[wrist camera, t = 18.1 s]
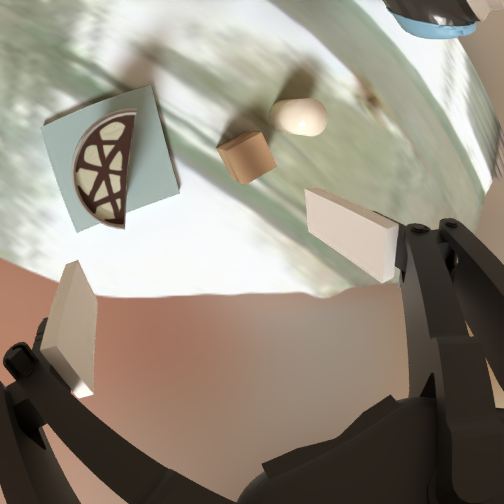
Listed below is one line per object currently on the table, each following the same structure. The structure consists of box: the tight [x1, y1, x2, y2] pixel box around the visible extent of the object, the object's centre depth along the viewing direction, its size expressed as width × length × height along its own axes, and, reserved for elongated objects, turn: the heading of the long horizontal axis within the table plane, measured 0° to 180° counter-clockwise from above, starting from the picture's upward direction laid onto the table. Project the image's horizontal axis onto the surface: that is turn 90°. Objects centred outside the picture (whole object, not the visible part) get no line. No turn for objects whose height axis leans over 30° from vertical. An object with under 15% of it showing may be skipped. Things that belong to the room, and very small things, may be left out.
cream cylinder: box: [269, 98, 327, 136], centre depth 37 cm, size 5×5×7 cm
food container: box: [71, 108, 137, 229], centre depth 28 cm, size 12×6×10 cm, turn 169°
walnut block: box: [216, 131, 277, 185], centre depth 38 cm, size 5×5×5 cm
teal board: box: [41, 85, 180, 233], centre depth 33 cm, size 15×15×1 cm
